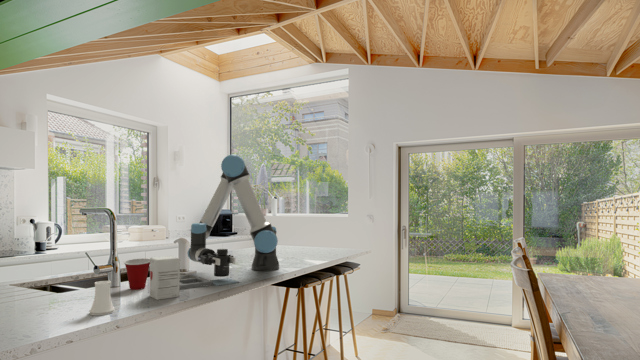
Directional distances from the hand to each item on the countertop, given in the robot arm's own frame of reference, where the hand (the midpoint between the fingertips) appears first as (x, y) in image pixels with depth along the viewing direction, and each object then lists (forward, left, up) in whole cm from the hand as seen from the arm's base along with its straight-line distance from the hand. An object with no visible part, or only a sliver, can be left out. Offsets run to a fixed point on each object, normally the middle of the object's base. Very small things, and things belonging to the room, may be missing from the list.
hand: (227, 261), depth 184 cm
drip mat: (0, -5, -10) cm, 11 cm away
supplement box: (+30, +7, -10) cm, 32 cm away
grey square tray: (+13, -9, -10) cm, 19 cm away
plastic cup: (+34, -15, -10) cm, 39 cm away
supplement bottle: (0, -5, -7) cm, 9 cm away
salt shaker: (+54, +18, -10) cm, 57 cm away
